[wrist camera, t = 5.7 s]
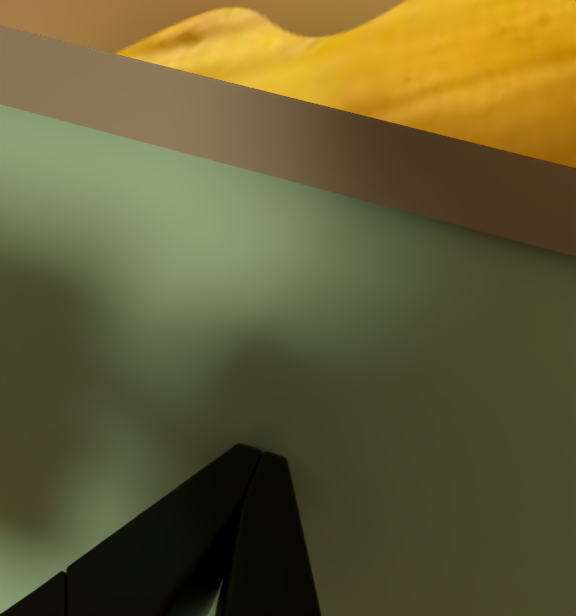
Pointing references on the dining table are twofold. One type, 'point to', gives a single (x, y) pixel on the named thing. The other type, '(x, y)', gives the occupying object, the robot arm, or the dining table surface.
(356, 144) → the tailgate
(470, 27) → the dining table surface
